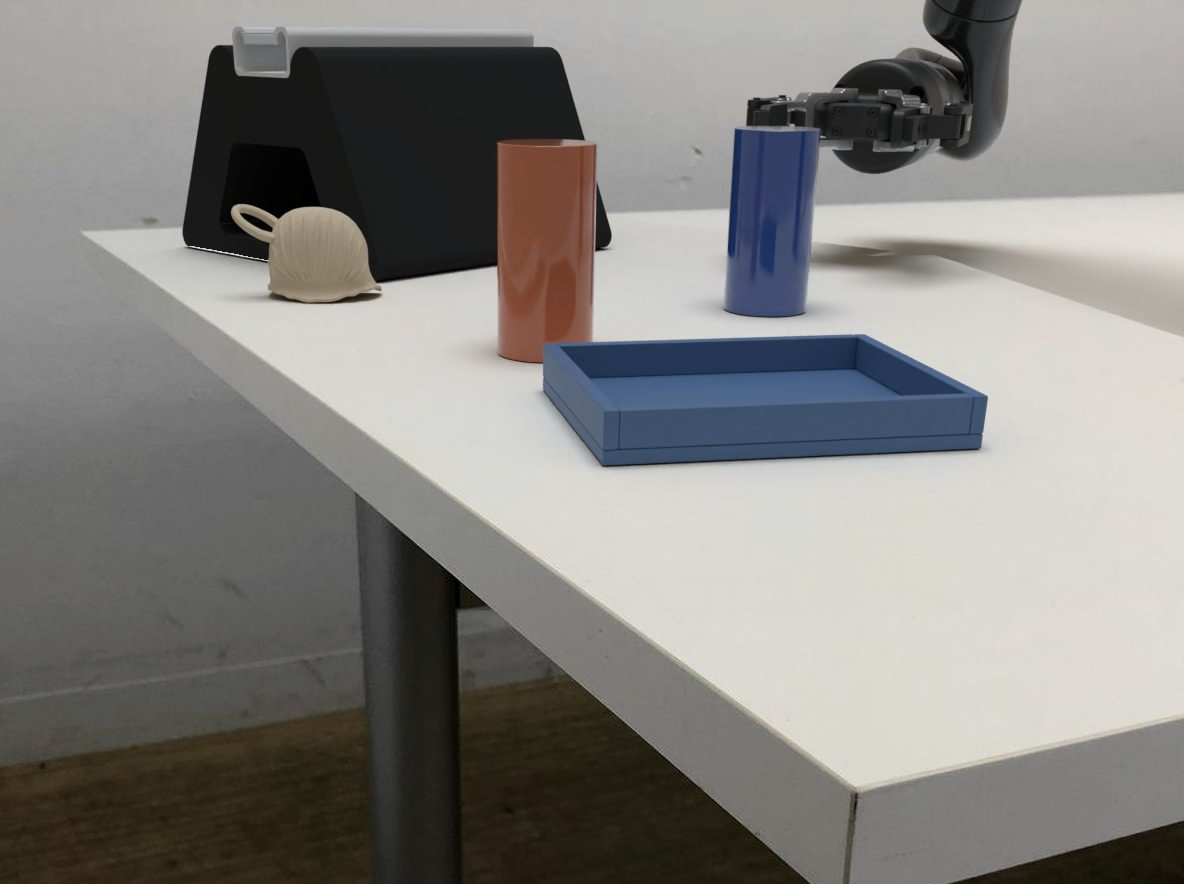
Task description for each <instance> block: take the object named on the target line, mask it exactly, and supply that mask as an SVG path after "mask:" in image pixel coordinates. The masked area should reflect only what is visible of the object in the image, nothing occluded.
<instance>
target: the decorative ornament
mask: <svg viewBox="0 0 1184 884" xmlns="http://www.w3.org/2000/svg"><path fill="white" fill-rule="evenodd" d="M240 213H247V214H250V215H252V216H255V217H257V218H259V219H261V220H263V221H264V222H266V223H267V224H268V225H270V226H271V227H272V228H273V231H272V233H271V232H267V231H264V230H261V229H259V228H257V227H255V226H253V225H252V224H250V223H249V222H247V221H246V220H245V219H244V218H243V217H242V216H241V215H240ZM231 215H232V218H233V220H234V221H235V222H236V223H237V224H238V226H240V227H241V228H242V229H243V230H245V231H246V232H247V233H249V234H250V235H252V236H254V237H256V238H258V239H260V240H262V241H265V242H268V243H270V246H269V259H268V262H267V265H268V266H269V267H268V268H269V269H268V270H269V277H270V278H269V284H267V289H268V291H270V292H272V293H274V294H276V295H280V296H283V297H285V298H287V299H290V300H297V301H300V302H303V303H331V302H337V301H339V300H342V299H344V298H349V297H356V296H358V295H359V294H361V293H368V292H371V291H376V292H377V291H378V292H382V286H381V285H379V284H378V283H377V281H374V279H373V278H372V275H371V273H370V270H369V265H368V248H367V244H366V241H365V238H364V236H363V234H362V233H361V231H360V229H359V228H358V226H357V225H356V223H355V222H354V221H353V220H352V219H350V218H349V217H348V216H346V215H345V214H343V213H341V212H339V211H336V210H334V209H329V208H324V207H302V208H297V209H294V210H291V211H289V212H288V213H286V214H284V215H283V216H282V217H281V218H280V219H279V220H278V219H277V218H276V217H274V216H273V215H271V214H269V213H268V212H266V211H264V210H261V209H259V208H257V207H254V206H251V205H246V204H238V205H235V206H234V207H233V208H232V210H231Z"/></svg>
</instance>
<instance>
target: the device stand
mask: <svg viewBox="0 0 1184 884" xmlns="http://www.w3.org/2000/svg"><path fill="white" fill-rule="evenodd" d="M231 37H232V44H216V45H214V46H213V48H212V49H211V50H210V53H209V56H208V60H207V68H206V73H205V79H204V86H203V93H202V100H201V106H200V113H199V119H198V125H197V132H196V139H195V145H194V152H193V159H192V164H191V172H190V178H189V185H188V191H187V198H186V204H185V210H184V211H185V212H184V216H183V224H182V229H181V230H182V232H181V235H182V240H183V242H184V244H185V245H186V246H187V245H188V246H195V247H200V248H206V249H212V250H217V251H222V252H228V253H234V254H239V255H243V256H248V257H253V258H259V259H264V260H268V259H269V246H270V243H268V242H265V241H262V240H260V239H258V238H256V237H254V236H252V235H250V234H249V233H247V232H246V231H245V230H243V229H242V228H241V227H240V226H238V224H237V223H236V222H235V221H234V220H233V218H232V215H231V210H232V208H233V207H234V206H235V205H238V204H246V205H251V206H254V207H257V208H259V209H261V210H264V211H266V212H268V213H269V214H271V215H273V216H274V217H276V218H277V219H278V220H279V219H280V218H281V217H282V216H283V215H284V214H286V213H288V212H289V211H291V210H294V209H297V208H302V207H324V208H329V209H334V210H336V211H339V212H341V213H343V214H345V215H346V216H348V217H349V218H350V219H352V220H353V221H354V222H355V223H356V225H357V226H358V228H359V229H360V231H361V233H362V234H363V236H364V238H365V241H366V244H367V248H368V265H369V270H370V273H371V275H372V278H373V279H374V281H375V282H378V281H384V280H385V281H386V280H391V279H398V278H405V277H413V276H419V274H420V275H427V274H433V273H439V271H440V272H447V271H452V270H453V269H454V270H459V269H460V268H461V269H467V268H474V267H479V266H480V267H481V266H487V265H494V264H497V142H499V141H504V140H517V139H567V140H583V141H586V139H585V134H584V130H583V128H582V125H581V121H580V117H579V114H578V109H577V107H576V103H575V101H574V100H575V99H574V97H573V92H572V90H571V85H570V83H569V79H568V75H567V72H566V68H565V65H564V61H563V58H562V56H561V54H560V52H559V51H558V50H557V49H555V48H554V47H552V46H535V44H534V43H535V42H534V41H535V39H534V38H535V37H534V33H533V32H532V30H530V29H516V28H515V29H513V28H512V29H506V28H505V29H504V28H503V29H502V28H501V29H500V28H497V29H496V28H430V27H429V28H425V27H424V28H422V27H421V28H420V27H419V28H416V27H412V28H411V27H345V26H344V27H341V26H339V27H337V26H336V27H335V26H331V27H330V26H329V27H328V26H327V27H326V26H235V27H234V28H233V29H232V33H231ZM240 215H241V216H242V217H243V218H244V219H245V220H246V221H247V222H249V223H250V224H252V225H253V226H255V227H257V228H259V229H261V230H264V231H267V232H271V233H272V231H273V228H272V227H271V226H270V225H268V224H267V223H266V222H264V221H263V220H261V219H259V218H257V217H255V216H252V215H250V214H247V213H240ZM612 236H613V233H612V228H611V225H610V221H609V218H608V215H607V211H606V208H605V204H604V201H603V197H602V194H601V190H600V186H599V183H598V182H597V185H596V230H595V250H597V249H604V248H607V247H608V246H609V245H610V244H611V242H612ZM188 246H187V247H188ZM446 270H447V271H446ZM432 272H433V273H432ZM412 275H413V276H412Z"/></svg>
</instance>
